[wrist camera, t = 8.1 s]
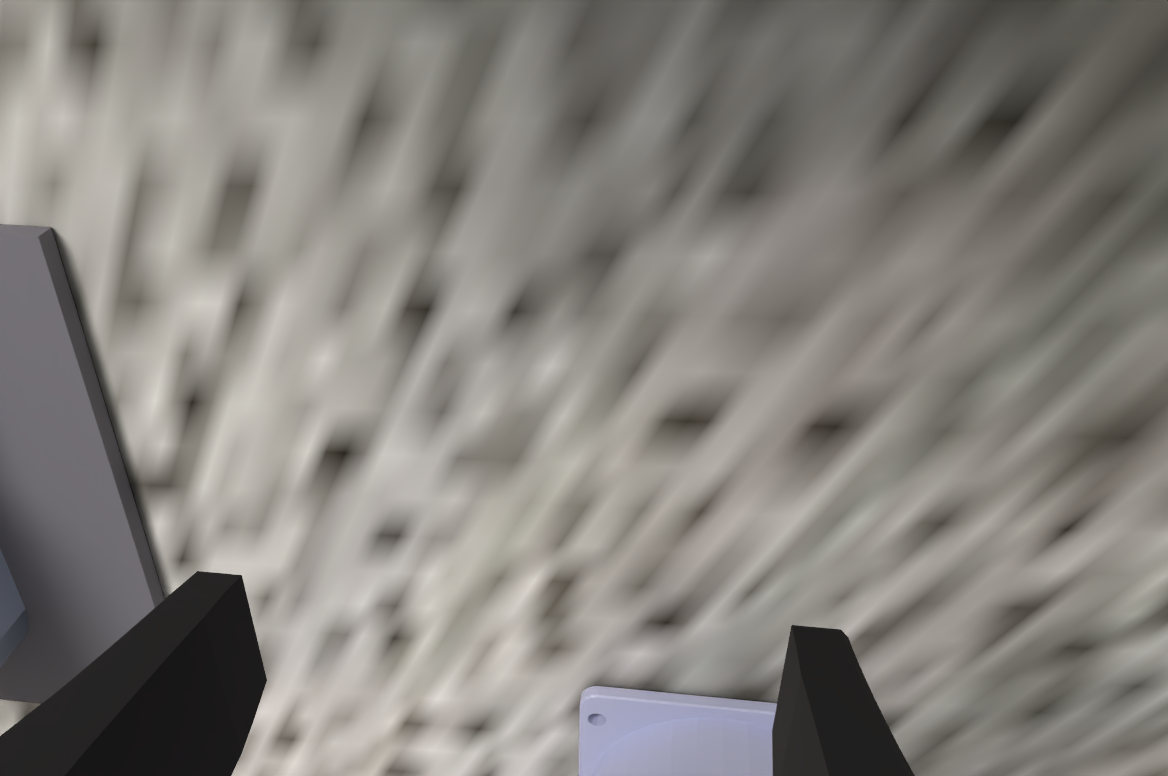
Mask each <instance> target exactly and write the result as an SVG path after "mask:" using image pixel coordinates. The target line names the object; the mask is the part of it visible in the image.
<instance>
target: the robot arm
mask: <svg viewBox="0 0 1168 776" xmlns="http://www.w3.org/2000/svg"><path fill="white" fill-rule="evenodd" d="M266 681H267V679H266V675H265V671H264V667H263V662H262V658H261V654H260V650H259V646H258V642H257V637H256V633H255V629H254V625H253V621H252V617H251V612H250V608H249V604H248V600H247V596H246V592H245V587H244V583H243V579H242V575H232V574H221V573H210V572H199V571H197V572H196V573H195V574H194V575H193V576H192V577H190V578H189V579H188V580H187V581H186V582H184V583H183V584H182V585H181V586H180V587H179V588H177V589H176V590H175V591H174V592H173V593H171V594H170V595H169V596H168V597H167V598H166V599H165V600H163V601H162V602H161V603H160V604H159V605H158V606H156V607H155V608H154V609H153V610H152V611H151V612H150V613H148V614H147V615H146V616H145V617H144V618H143V619H142V620H140V621H139V622H138V623H137V624H136V625H135V626H134V627H132V628H131V629H130V630H129V631H128V632H127V633H125V634H124V635H123V636H122V637H121V638H120V639H119V640H117V641H116V642H115V643H114V644H113V645H112V646H110V647H109V648H108V649H107V650H106V651H105V652H103V653H102V654H101V655H100V656H99V657H98V658H96V659H95V660H94V661H93V662H92V663H90V664H89V665H88V666H87V667H86V668H84V669H83V670H82V671H81V672H80V673H78V674H77V675H76V676H75V677H74V678H73V679H71V680H70V681H69V682H68V683H67V684H65V685H64V686H63V687H62V688H61V689H59V690H58V691H57V692H56V693H55V694H53V695H52V696H51V697H50V698H48V699H47V700H46V701H45V702H43V703H42V704H41V705H40V706H38V707H37V708H36V709H34V710H33V711H32V712H31V713H29V714H28V715H27V716H25V717H24V718H23V719H22V720H20V721H19V722H18V723H16V724H15V725H14V726H13V727H11V728H10V729H9V730H8V731H6V732H5V733H4V734H2V735H1V736H0V776H231V775H232V773H233V770H234V768H235V766H236V764H237V762H238V760H239V758H240V756H241V753H242V751H243V748H244V745H245V742H246V740H247V737H248V734H249V731H250V729H251V726H252V723H253V720H254V717H255V714H256V711H257V708H258V705H259V702H260V699H261V696H262V693H263V690H264V687H265V684H266ZM578 776H915V775H914V774H913V772H912V770H911V768H910V766H909V765H908V763H907V761H906V759H905V757H904V756H903V754H902V752H901V750H900V748H899V746H898V744H897V743H896V741H895V739H894V737H893V735H892V733H891V731H890V729H889V727H888V725H887V723H886V721H885V719H884V717H883V715H882V713H881V711H880V709H879V707H878V705H877V703H876V701H875V699H874V697H873V694H872V692H871V690H870V688H869V686H868V684H867V681H866V679H865V677H864V675H863V672H862V670H861V668H860V666H859V663H858V661H857V658H856V656H855V654H854V651H853V649H852V646H851V644H850V641H849V638H848V637H847V636H846V635H845V634H844V633H843V631H842V630H838V629H827V628H816V627H805V626H794V625H792V626H791V632H790V637H789V643H788V648H787V653H786V659H785V664H784V669H783V675H782V680H781V685H780V691H779V696H778V702H777V703H768V702H758V701H748V700H738V699H727V698H717V697H707V696H697V695H686V694H676V693H666V692H655V691H645V690H635V689H625V688H614V687H604V686H592V687H589V688H586V689H585V690H584V691H583V692H582V695H581V700H580V719H579V770H578Z"/></svg>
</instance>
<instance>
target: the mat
mask: <svg viewBox="0 0 1168 776" xmlns="http://www.w3.org/2000/svg"><path fill="white" fill-rule="evenodd" d="M0 549H1V551H2V554H3V556H4V558H5V561H6V563H7V565H8V568H9V570H10V573H11V575H12V577H13V580H14V582H15V585H16V587H17V589H18V592H19V594H20V597H21V599H22V601H23V604H24V606H25V609H26V612H27V615H28V620H29V625H28V631H27V633H26V635H25V637H24V638H23V640H22V641H21V642H20V644H19V645H18V646H17V647H16V649H15V650H14V651H13V653H12V654H11V655H10V656H9V658H8V659H7V660H6V661H5V663H4V664H3V665H2V667H1V668H0V699H2V700H12V701H22V702H31V703H41V704H42V703H43V702H45V701H46V700H47V699H48V698H50V697H51V696H52V695H53V694H55V693H56V692H57V691H58V690H59V689H61V688H62V687H63V686H64V685H65V684H67V683H68V682H69V681H70V680H71V679H73V678H74V677H75V676H76V675H77V674H78V673H80V672H81V671H82V670H83V669H84V668H86V667H87V666H88V665H89V664H90V663H92V662H93V661H94V660H95V659H96V658H98V657H99V656H100V655H101V654H102V653H103V652H105V651H106V650H107V649H108V648H109V647H110V646H112V645H113V644H114V643H115V642H116V641H117V640H119V639H120V638H121V637H122V636H123V635H124V634H125V633H127V632H128V631H129V630H130V629H131V628H132V627H134V626H135V625H136V624H137V623H138V622H139V621H140V620H142V619H143V618H144V617H145V616H146V615H147V614H148V613H150V612H151V611H152V610H153V609H154V608H155V607H156V606H158V605H159V604H160V603H161V602H162V601H163V600H165V599H164V596H163V593H162V589H161V586H160V583H159V580H158V576H157V573H156V570H155V566H154V563H153V560H152V557H151V553H150V550H149V547H148V543H147V540H146V537H145V534H144V530H143V527H142V524H141V520H140V517H139V514H138V511H137V507H136V504H135V501H134V497H133V494H132V491H131V488H130V484H129V481H128V478H127V474H126V471H125V468H124V465H123V461H122V458H121V455H120V451H119V448H118V445H117V442H116V438H115V435H114V432H113V429H112V425H111V422H110V419H109V415H108V412H107V409H106V406H105V402H104V399H103V396H102V392H101V389H100V386H99V383H98V379H97V376H96V373H95V369H94V366H93V363H92V360H91V356H90V353H89V350H88V346H87V343H86V340H85V337H84V333H83V330H82V327H81V323H80V320H79V317H78V314H77V310H76V307H75V304H74V300H73V297H72V294H71V291H70V287H69V284H68V281H67V277H66V274H65V271H64V268H63V264H62V261H61V258H60V254H59V251H58V248H57V245H56V241H55V238H54V235H53V231H52V228H51V227H37V226H20V225H4V224H0Z"/></svg>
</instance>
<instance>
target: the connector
mask: <svg viewBox="0 0 1168 776" xmlns="http://www.w3.org/2000/svg"><path fill="white" fill-rule="evenodd" d="M28 625H29V620H28V615H27V612H26V609H25V606H24V604H23V601H22V599H21V597H20V594H19V592H18V589H17V587H16V585H15V582H14V580H13V577H12V575H11V573H10V570H9V568H8V565H7V563H6V561H5V558H4V556H3V554H2V551H1V549H0V668H1V667H2V665H3V664H4V663H5V661H6V660H7V659H8V658H9V656H10V655H11V654H12V653H13V651H14V650H15V649H16V647H17V646H18V645H19V644H20V642H21V641H22V640H23V638H24V637H25V635H26V633H27V631H28Z"/></svg>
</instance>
